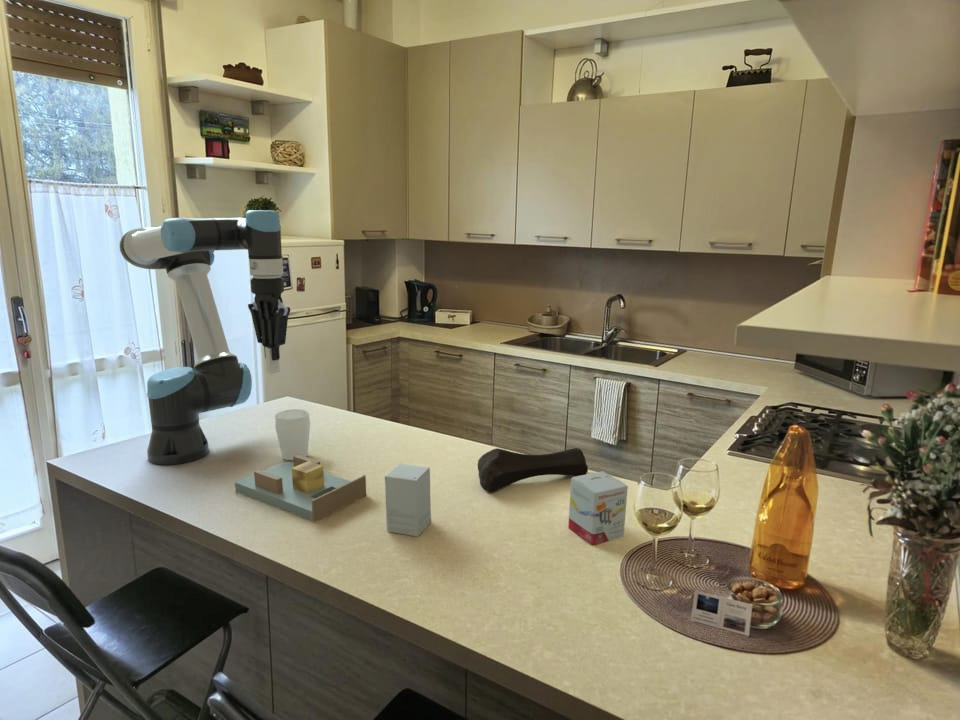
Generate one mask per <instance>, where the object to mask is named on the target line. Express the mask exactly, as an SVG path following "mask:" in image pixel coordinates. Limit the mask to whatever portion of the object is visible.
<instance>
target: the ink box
mask: <svg viewBox="0 0 960 720" xmlns="http://www.w3.org/2000/svg"><path fill="white" fill-rule="evenodd" d="M628 487H629V486H628V485H627V484H625V483H624V482H622V481H621V480H619V479H617V478H615V477H614V476H612V475H610V474H609V473H607V472H605V471H603V470H601V471H596V472H592V473H587V474H586V475H581V476H576V477H574V476H571V479H570V492H569V493H570V494H569V495H570V497H569V512H568V527H567V528H568V529H569V530H570V531H571V532H572V533H573V534H575V535H577V537H579V538H581V539H582V540H583V541H584V542H586V543H588V544H589V545H590V546H592V547H594V546H597V545H600V544H604V543H606V542H610V541H614V540H616V539H620V538H624V536H625V525H626V523H625V522H626V513H627V498H628Z"/></svg>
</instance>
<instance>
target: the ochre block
mask: <svg viewBox="0 0 960 720" xmlns="http://www.w3.org/2000/svg"><path fill="white" fill-rule="evenodd" d="M324 473H325V472H324V465H321V464H320V465H319V464H316V463H312V462H309V461H308V462H305V463H303V464H300V465H298V466H296V467H293V468H292V482H293V488H294V489H297V490H299V491H302V492H305V493H310V492H312V491H314V490H316V489H318V488H321V487H323V486H324Z"/></svg>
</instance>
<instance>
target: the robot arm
mask: <svg viewBox="0 0 960 720" xmlns="http://www.w3.org/2000/svg"><path fill="white" fill-rule="evenodd" d="M280 223H281V222H280V215H279V213H278V211H276V210H274V209H273V210H268V209H267V210H266V209H265V210H263V209H261V210H260V209H258V210H256V209H255V210H253V209H252V210H250V209H248V210H247V211H246V213H245V217H231V218H230V217H228V218H227V217H226V218H225V217H222V218H221V217H219V218H218V217H215V218H214V217H212V218H201V217H200V218H199V217H197V218H194V217H192V218H189V217H188V218H187V217H174V218H167V219H164V221H162V224H161V226H160V225H159V226H157V227H156V226H155V227H153V226H151V227H149V226H148V227H140V228H139V227H137V228H134V229H130V230H128V231H127V232H125V233H124V234H123V235H122V237H121V239H120V241H119V252H120V254H121V255H122V257H123V259H124V260H125V261H127V262H128V263H129V264H131V265H132V266H134V267H137V268H140V269H146V270H166V274H167V277H168V278H169V279H171V281H172V280H173V281H174V282H175V284H176V289H177V291H178V294H179V298H180V302H181V305H182V309H183V311H184V315H185V318H186V322H187V326H188V329H189V333H190V336H191V340H192V343H193V347H194V350H195V353H196V358H197V361H196V363H195V364H194V366H193V367H190V366H179V367H171V368H168V369H163V370H160V371H158V372H156V373H154V374H152V375H151V376H150V377H149V378H148V380H147V382H146V387H147V391H146V392H147V393H146V396H147V400H148V409H149V416H150V417H149V418H150V424H151V434H150V438H149V442H148V445H147V451H146V453H147V460H148V461H149V462H150V463H152V464H155V465H165V466H166V465H167V466H169V465H178V464H179V465H180V464H184V463H185V464H186V463H189V462H193V461H195V460H199V459H201V458H203V457H204V456H206V455H207V454H208V453H209V452H210V448H209V447H210V445H209V442H208V439H207V437H206V435H205V433H204V432H203V428H202V427H201V425H200V415H199V414H203V413H207V412H212V411H216V410H220V409H225V408H232V407H235V406H237V405H241V404H245V403H246V402H247V400H248V399H249V398H250V396H251V394H252V393H251V392H252V387H253V385H252V384H253V381H252V379H253V378H252V373H251V370H250V368H249V367H248V365H247V364H246V363H244V362H239V359H238V356H237V355H236V354H234V353H231V352H230V349H229V346H228V341H227V338H226V336H225V331H224V328H223V325H222V321H221V317H220V314H219V312H218V308H217V305H216V301H215V297H214V294H213V291H212V287H211V283H210V280H209V277H208V274H209V272H210V271H211V270H212V268H211V266H212V265H213V263H214V262H215V254H214V253H215V251H236V250H237V251H238V250H247V253H248V261H249V262H248V264H249V274H250V276H252V277H251V278H250V279H249V281H250V292H251V294H253V295H255V296H254V301H253V302H252V303H248V304H247V307H248V310H249V312H250V314H251V318H252V324H253V328H254V333H255V336H256V341H257V343H258V344H261V345H262V347H263V349H264V358H265V367H266V373H267V374H270V375H273V374H277V373H280V371H281V369H280V357H281V356H280V346H283V345H285V344H286V338H287V330H288V321H289V320H288V318H289V315H290V313H291V307H289V306H285V304H284V303H283V302H284V301H283V299H282V293H284V292H285V283H284V278H283V277H282V275H284V267H283V265H284V264H283V256H282V255H283V253H282V232H281V230H282V227H281V224H280Z"/></svg>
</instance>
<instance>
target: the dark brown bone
mask: <svg viewBox="0 0 960 720" xmlns="http://www.w3.org/2000/svg"><path fill="white" fill-rule="evenodd" d="M477 470H478V479H479V485H480V487H481V488H482V489H483V490H484V491H485V492H486V493H489V494H494V493H496V492H498V491H500V490H502V489H505V488H506V487H508V486H510V485H512V484H514V483H516V482H520V481H523V480H525V479H529V478H533V477H539V476H552V475H556V476H566V477H568V476H569V477H576V476H581V475H586V474H588V470H589V466H588V465H587V461H586V457H585V454H584V453H583V449H581V448H579V447H574V448H570V449H566V450H562V451H556V452H552V453H546V454H544V453H542V454H526V453H519V452H514V451H510V450H507V449H504V448H503V449H502V448H493V449H491V450H490V451H487V452H486V453H483V455H481V456H480V457H479V459H478V460H477Z"/></svg>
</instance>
